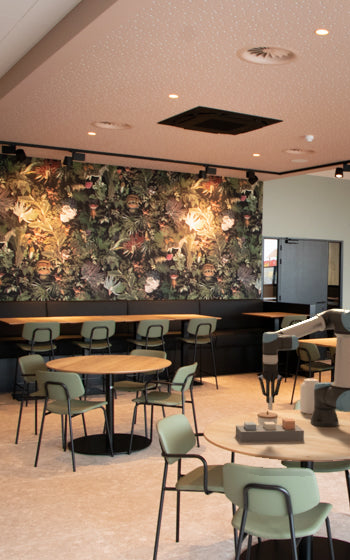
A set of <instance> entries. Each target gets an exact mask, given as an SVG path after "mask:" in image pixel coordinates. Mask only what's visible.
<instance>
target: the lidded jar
mask: <svg viewBox="0 0 350 560" xmlns="http://www.w3.org/2000/svg"><path fill="white" fill-rule="evenodd" d="M278 417H279V416H278V413H275V412H270V410H269V411H268V410H267V411H261V412H258V413H257V423H258V425H263V422H274V423H275V424H276V425H278V424H277V423H278Z"/></svg>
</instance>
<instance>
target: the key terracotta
mask: <svg viewBox="0 0 350 560" xmlns="http://www.w3.org/2000/svg"><path fill="white" fill-rule="evenodd" d="M281 422H282V423H281V425H282V428H284V429H295V425H296V420H294V418H282V421H281Z"/></svg>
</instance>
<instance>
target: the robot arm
mask: <svg viewBox="0 0 350 560" xmlns="http://www.w3.org/2000/svg"><path fill="white" fill-rule="evenodd" d="M327 330H334V332H333V334H334V335H335V337H336V344H335V345H336V347H335V360H334V361H335V362H334V363H335V364H334V376H333V377H334V379H333V381H332V382H325V381H323V382H318V383H316V384H315V387H314V411H313V414H311V417H310V424H311V425H313V426H317V427H324V428H332V427H337V426H339V418H338V415H337V411H336V410H338V411H340V412H346V413H347V412H350V309H347V308H346V309H345V308H343V309H342V308H332V309H328V310H324V311H322V312H320V313H319V312H318V313H317V314H314V316H313V317H311V318H309V319H306V320H303V321H301V322H298V323H296V324H293V325H290V326H287V327H284V328H282V329H280V330H276V331H267V332H265V331H264V333H263V334H262V373H261V375H258V376H257V380H258V381H259V385H260V388H261V393H262V395H263V396H265V399H266V401H265V402H266V403H267V409H268V410H269V411H273V404H274V403H275V397H276V396H278V395H279V393H280V387H281V383H282V380H283V379H284V377H283V376H282V375H280V373H279V370H278V369H279V364H278V362H279V358H278V357H279V356H278V355H279V354H278V353H279V351H292V350H297V349H298V347H299V345H300V341H299V339H300V338H303V337H304V336H307V335H310V334H313V333H316V332H318V331H320V332H324V331H327ZM263 380H265V384H264V381H263ZM276 380H277V381H276ZM275 382H276V384H275ZM275 385H276V386H275Z"/></svg>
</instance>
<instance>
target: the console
mask: <svg viewBox="0 0 350 560" xmlns="http://www.w3.org/2000/svg"><path fill="white" fill-rule="evenodd" d="M235 436H236V438H237V439H238V440H239V441H240V443H253V442H255V443H257V442H259V443H260V442H261V443H262V442H302V441H303V442H304V441H305V430H304V429H303V428H301V427H300V426H299V425H298V424H295V429H284V428H282V424H276V430H265V429H264V428H263V425H259V424H258V425H257V424H256V430H245V429H244V425H235Z"/></svg>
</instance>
